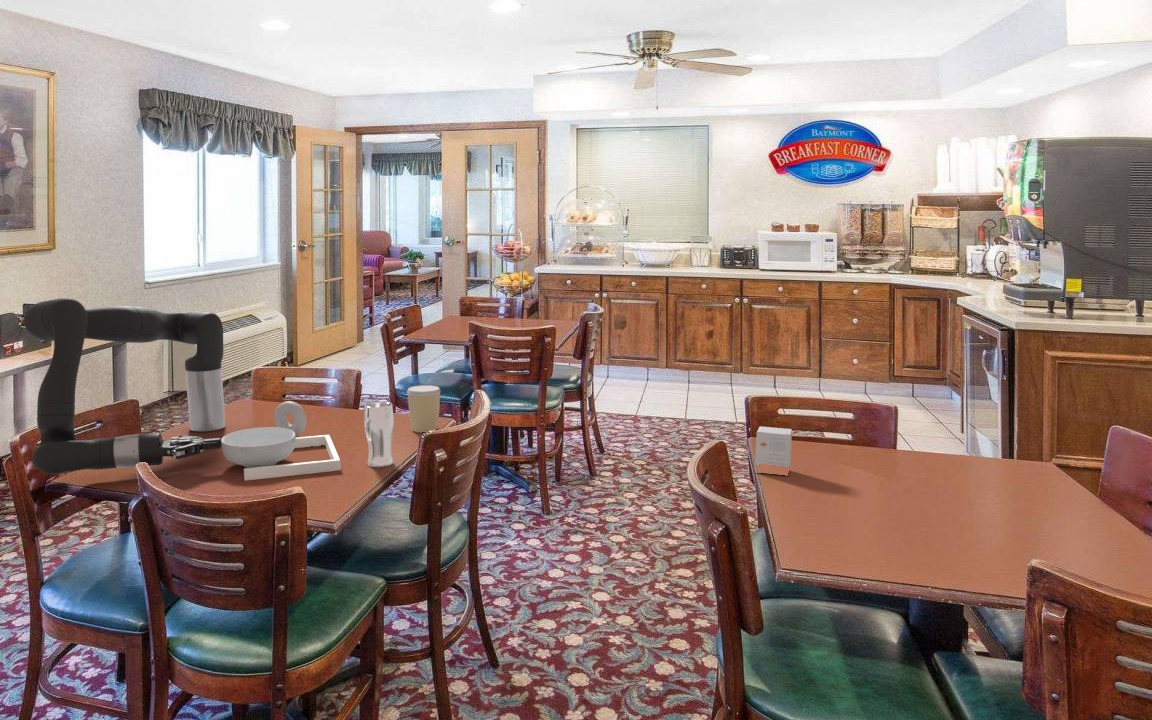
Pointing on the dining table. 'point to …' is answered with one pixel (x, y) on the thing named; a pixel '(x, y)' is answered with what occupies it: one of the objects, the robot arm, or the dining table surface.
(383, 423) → the beer glass
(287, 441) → the cereal bowl
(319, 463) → the bowl bay
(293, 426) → the donut
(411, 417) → the coffee cup
